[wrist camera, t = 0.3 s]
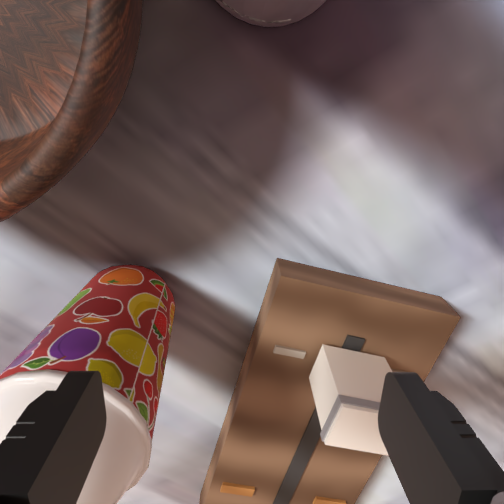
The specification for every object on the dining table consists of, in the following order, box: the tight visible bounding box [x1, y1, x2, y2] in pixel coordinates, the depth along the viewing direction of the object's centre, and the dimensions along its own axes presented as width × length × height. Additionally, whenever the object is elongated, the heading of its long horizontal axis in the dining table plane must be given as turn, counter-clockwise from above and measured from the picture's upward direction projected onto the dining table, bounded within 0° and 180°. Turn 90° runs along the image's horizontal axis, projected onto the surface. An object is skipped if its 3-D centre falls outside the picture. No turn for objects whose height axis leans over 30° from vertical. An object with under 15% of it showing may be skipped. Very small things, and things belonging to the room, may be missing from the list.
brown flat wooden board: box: [200, 258, 461, 504], centre depth 34 cm, size 28×14×3 cm, turn 165°
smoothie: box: [0, 265, 175, 504], centre depth 21 cm, size 8×8×20 cm
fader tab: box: [309, 344, 392, 456], centre depth 26 cm, size 3×5×6 cm, turn 75°
